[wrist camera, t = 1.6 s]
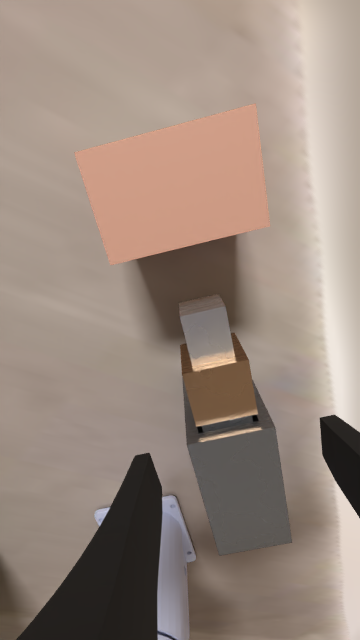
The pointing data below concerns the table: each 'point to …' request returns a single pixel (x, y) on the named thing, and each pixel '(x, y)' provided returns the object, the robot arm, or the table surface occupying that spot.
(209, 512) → the outer sleeve
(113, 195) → the socket block
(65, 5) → the table surface
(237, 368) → the tube
